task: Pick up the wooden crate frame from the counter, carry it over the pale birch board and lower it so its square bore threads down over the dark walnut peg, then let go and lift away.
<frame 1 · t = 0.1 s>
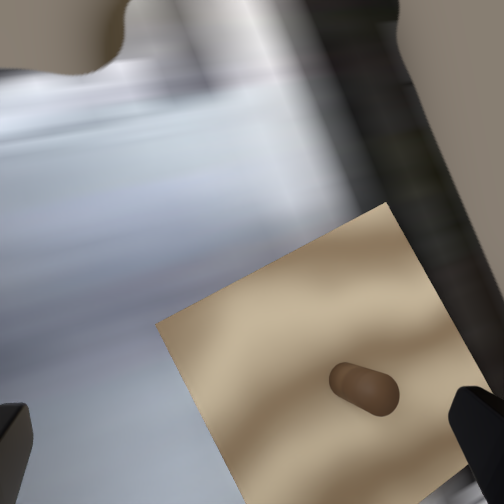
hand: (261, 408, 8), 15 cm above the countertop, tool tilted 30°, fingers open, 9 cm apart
post board: (335, 375, 23), on the countertop
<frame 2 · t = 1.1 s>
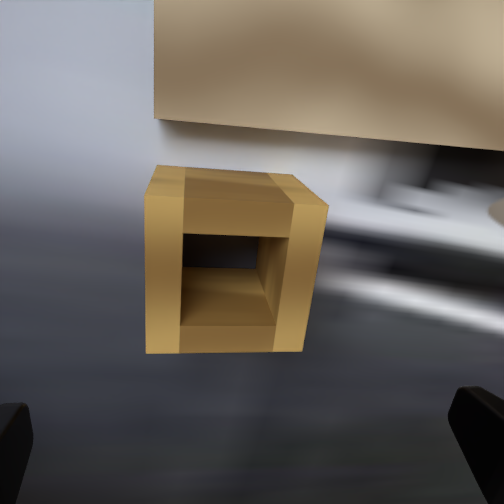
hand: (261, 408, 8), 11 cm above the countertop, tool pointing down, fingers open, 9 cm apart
wooden crate frame: (222, 233, 18), on the countertop
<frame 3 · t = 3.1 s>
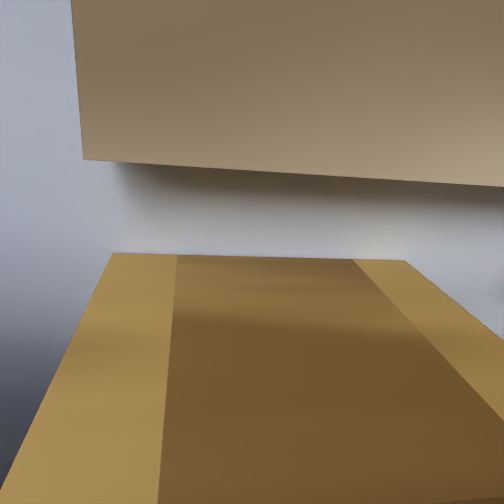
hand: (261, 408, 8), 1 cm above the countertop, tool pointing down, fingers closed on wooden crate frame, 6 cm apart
wooden crate frame: (254, 375, 9), on the countertop, touching gripper
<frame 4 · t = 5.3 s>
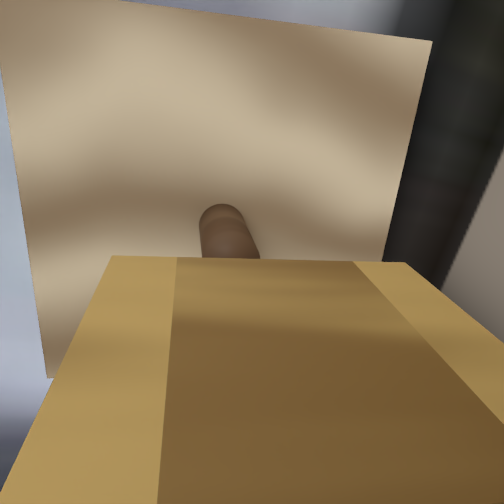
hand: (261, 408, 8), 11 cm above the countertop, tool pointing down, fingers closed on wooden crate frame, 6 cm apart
post board: (219, 215, 18), on the countertop
wooden crate frame: (254, 377, 9), point 10 cm above the countertop, touching gripper
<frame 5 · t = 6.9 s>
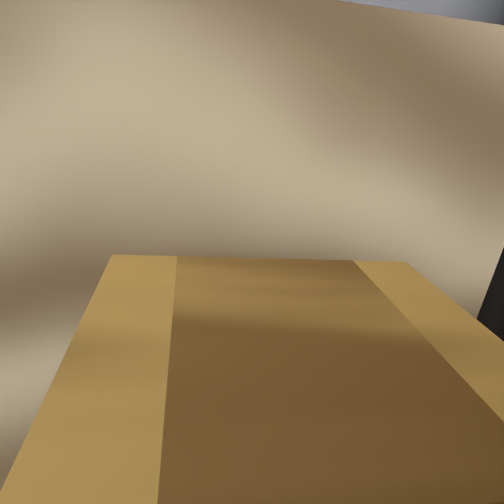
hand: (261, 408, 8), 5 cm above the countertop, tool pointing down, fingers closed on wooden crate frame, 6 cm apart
post board: (236, 285, 13), on the countertop
wooden crate frame: (254, 376, 9), point 4 cm above the countertop, touching gripper
when the fingers open (4 cm above the countertop, at t = 7.9 s): wooden crate frame drops 2 cm, resting on post board.
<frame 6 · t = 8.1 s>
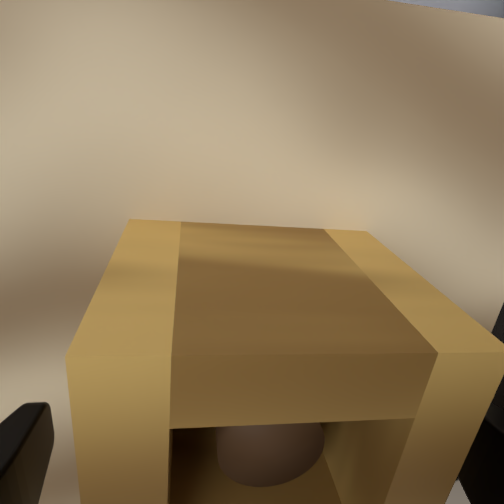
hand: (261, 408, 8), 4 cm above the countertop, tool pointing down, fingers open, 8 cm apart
post board: (238, 297, 12), on the countertop
wooden crate frame: (243, 326, 11), point 1 cm above the countertop, touching post board
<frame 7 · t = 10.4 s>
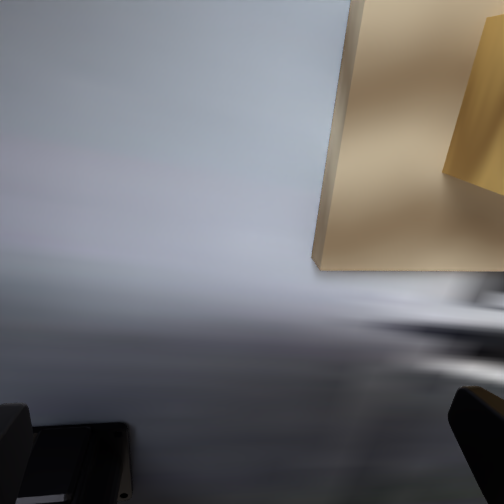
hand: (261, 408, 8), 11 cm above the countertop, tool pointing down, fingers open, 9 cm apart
post board: (500, 103, 18), on the countertop
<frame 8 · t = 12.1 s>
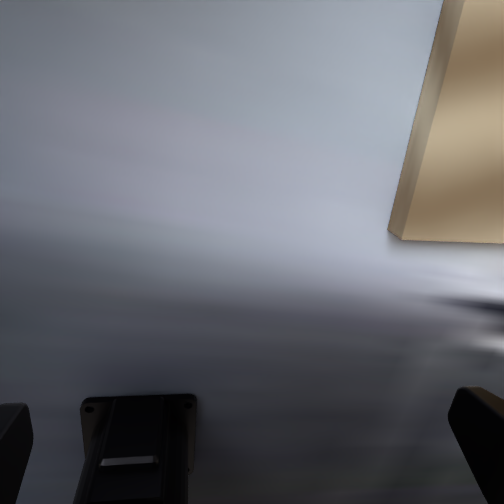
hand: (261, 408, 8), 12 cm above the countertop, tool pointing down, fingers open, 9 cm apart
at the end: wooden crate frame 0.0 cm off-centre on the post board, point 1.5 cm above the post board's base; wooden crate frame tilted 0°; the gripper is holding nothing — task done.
